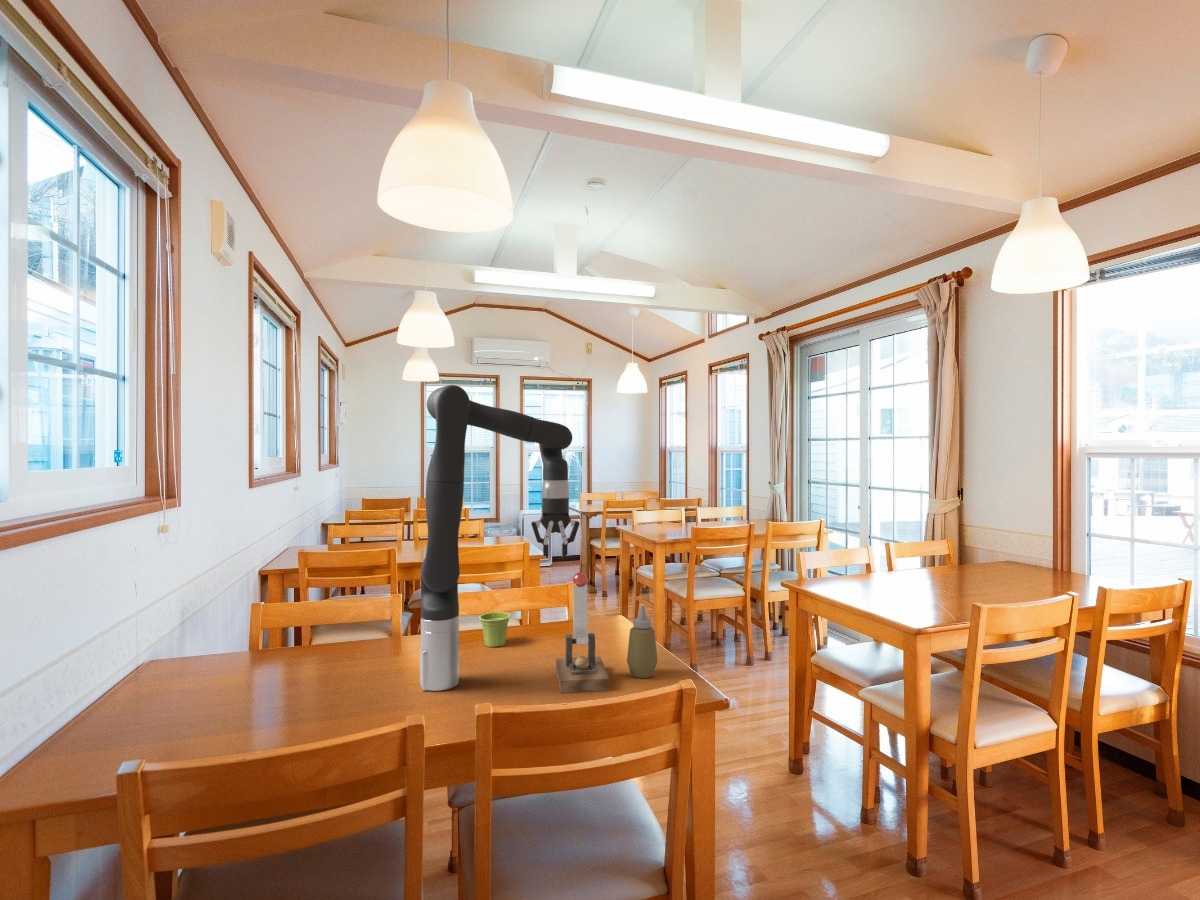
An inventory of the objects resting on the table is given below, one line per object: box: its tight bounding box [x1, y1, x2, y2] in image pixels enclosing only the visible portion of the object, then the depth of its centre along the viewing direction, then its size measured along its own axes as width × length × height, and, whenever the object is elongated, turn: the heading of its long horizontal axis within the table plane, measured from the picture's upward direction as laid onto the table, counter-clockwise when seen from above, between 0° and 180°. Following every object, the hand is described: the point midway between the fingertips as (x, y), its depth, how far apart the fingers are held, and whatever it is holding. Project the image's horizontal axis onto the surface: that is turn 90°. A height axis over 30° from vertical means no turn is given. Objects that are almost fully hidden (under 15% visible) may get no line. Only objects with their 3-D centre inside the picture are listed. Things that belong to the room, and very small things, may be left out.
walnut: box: [575, 655, 589, 670], centre depth 154 cm, size 4×4×4 cm
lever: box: [572, 571, 589, 645], centre depth 157 cm, size 4×8×17 cm, turn 8°
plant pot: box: [478, 611, 511, 648], centre depth 184 cm, size 9×9×9 cm
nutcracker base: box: [555, 632, 610, 694], centre depth 155 cm, size 12×16×10 cm
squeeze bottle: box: [626, 605, 659, 679], centre depth 159 cm, size 8×8×18 cm
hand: (555, 557), depth 169 cm, fingers open, 4 cm apart
